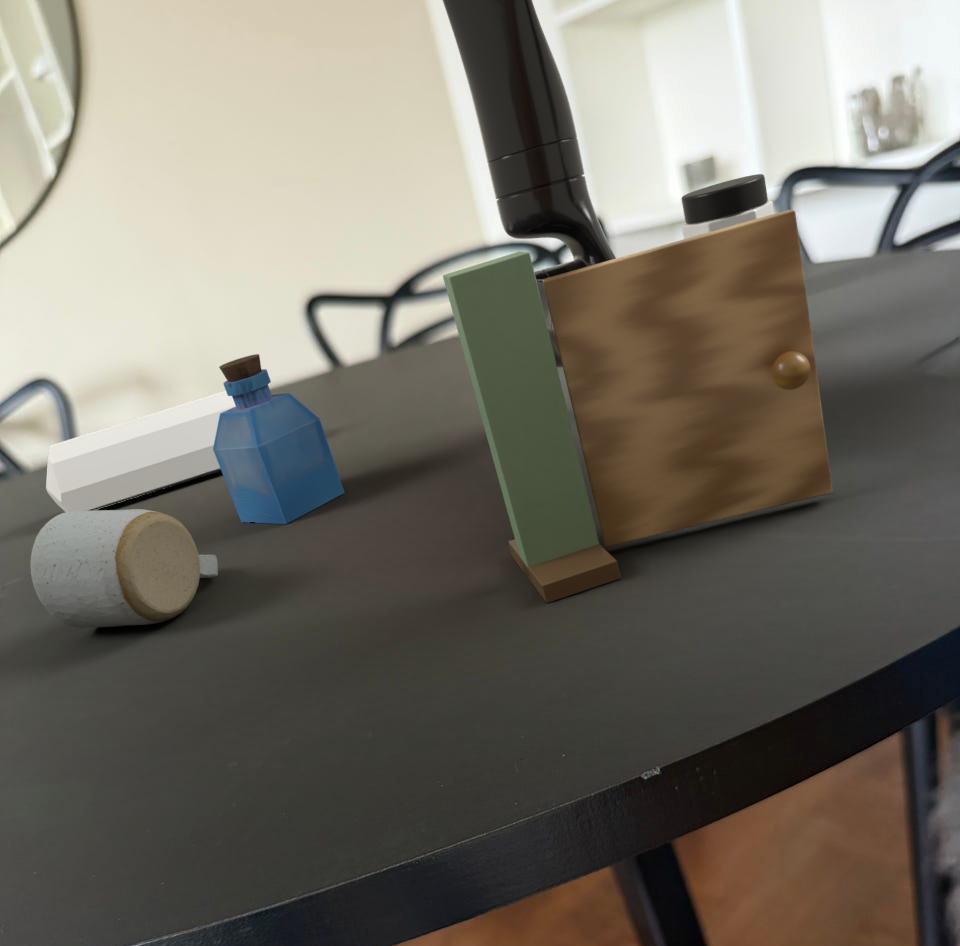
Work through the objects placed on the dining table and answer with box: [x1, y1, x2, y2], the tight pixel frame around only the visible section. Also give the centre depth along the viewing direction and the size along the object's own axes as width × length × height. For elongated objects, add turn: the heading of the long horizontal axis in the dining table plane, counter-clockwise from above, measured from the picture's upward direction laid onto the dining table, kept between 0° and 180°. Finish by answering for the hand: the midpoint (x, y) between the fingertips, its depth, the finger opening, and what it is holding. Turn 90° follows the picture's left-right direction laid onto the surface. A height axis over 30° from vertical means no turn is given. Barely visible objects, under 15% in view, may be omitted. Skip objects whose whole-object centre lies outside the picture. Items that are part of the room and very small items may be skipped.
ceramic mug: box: [29, 508, 219, 629], centre depth 67 cm, size 11×8×8 cm
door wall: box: [442, 251, 622, 604], centre depth 52 cm, size 4×8×16 cm, turn 12°
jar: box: [681, 173, 775, 239], centre depth 104 cm, size 9×8×12 cm
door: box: [543, 209, 834, 548], centre depth 51 cm, size 12×3×14 cm, turn 88°
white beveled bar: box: [45, 390, 236, 513], centre depth 103 cm, size 7×7×24 cm
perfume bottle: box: [213, 353, 346, 525], centre depth 80 cm, size 6×6×12 cm
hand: (737, 363), depth 51 cm, fingers closed
